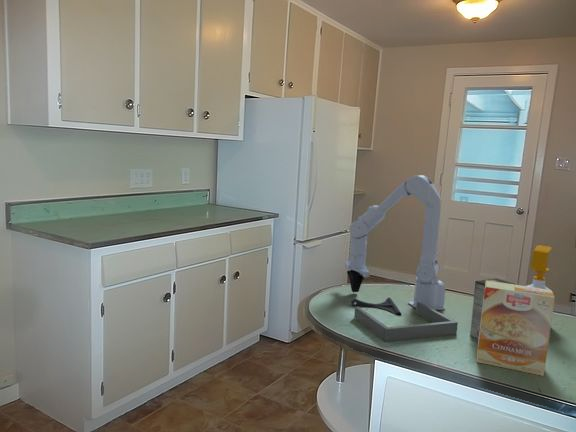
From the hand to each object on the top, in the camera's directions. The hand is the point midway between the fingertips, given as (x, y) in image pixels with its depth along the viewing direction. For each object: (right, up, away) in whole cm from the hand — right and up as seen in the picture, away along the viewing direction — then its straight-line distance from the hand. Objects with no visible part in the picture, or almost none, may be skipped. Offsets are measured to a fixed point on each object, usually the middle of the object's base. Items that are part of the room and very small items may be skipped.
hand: (355, 291), depth 163 cm
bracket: (+4, -4, -12) cm, 13 cm away
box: (+10, -5, -28) cm, 30 cm away
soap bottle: (+52, -7, -21) cm, 57 cm away
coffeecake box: (+31, -10, -50) cm, 60 cm away
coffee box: (+33, -8, -33) cm, 48 cm away
